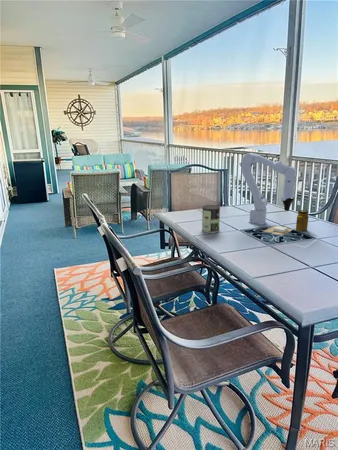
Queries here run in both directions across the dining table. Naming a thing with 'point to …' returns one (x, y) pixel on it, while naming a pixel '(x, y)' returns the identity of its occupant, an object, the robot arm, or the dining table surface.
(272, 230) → the mat
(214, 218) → the coffee can
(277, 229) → the block
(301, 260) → the dining table surface
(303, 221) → the condiment
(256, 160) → the robot arm
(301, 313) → the dining table surface
